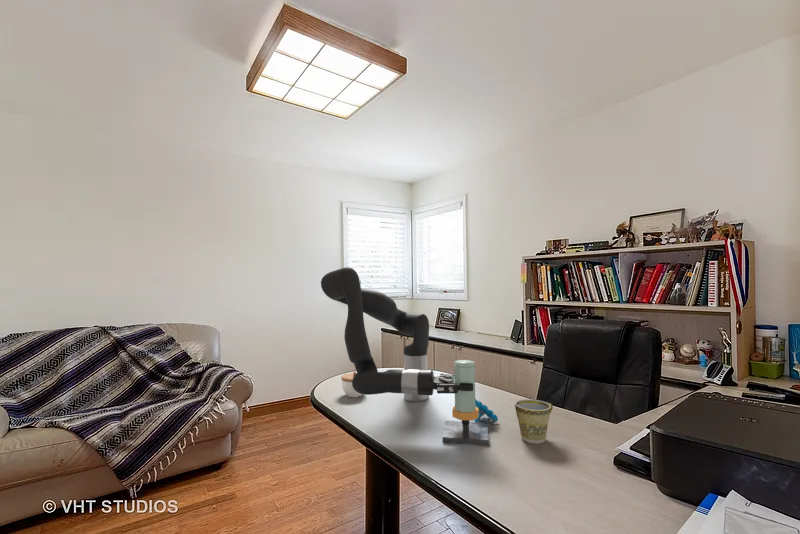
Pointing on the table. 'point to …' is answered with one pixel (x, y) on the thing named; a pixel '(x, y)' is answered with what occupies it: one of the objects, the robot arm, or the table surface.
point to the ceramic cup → (533, 419)
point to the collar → (465, 414)
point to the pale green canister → (465, 375)
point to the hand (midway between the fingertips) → (473, 384)
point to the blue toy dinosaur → (484, 411)
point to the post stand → (465, 433)
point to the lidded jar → (349, 385)
